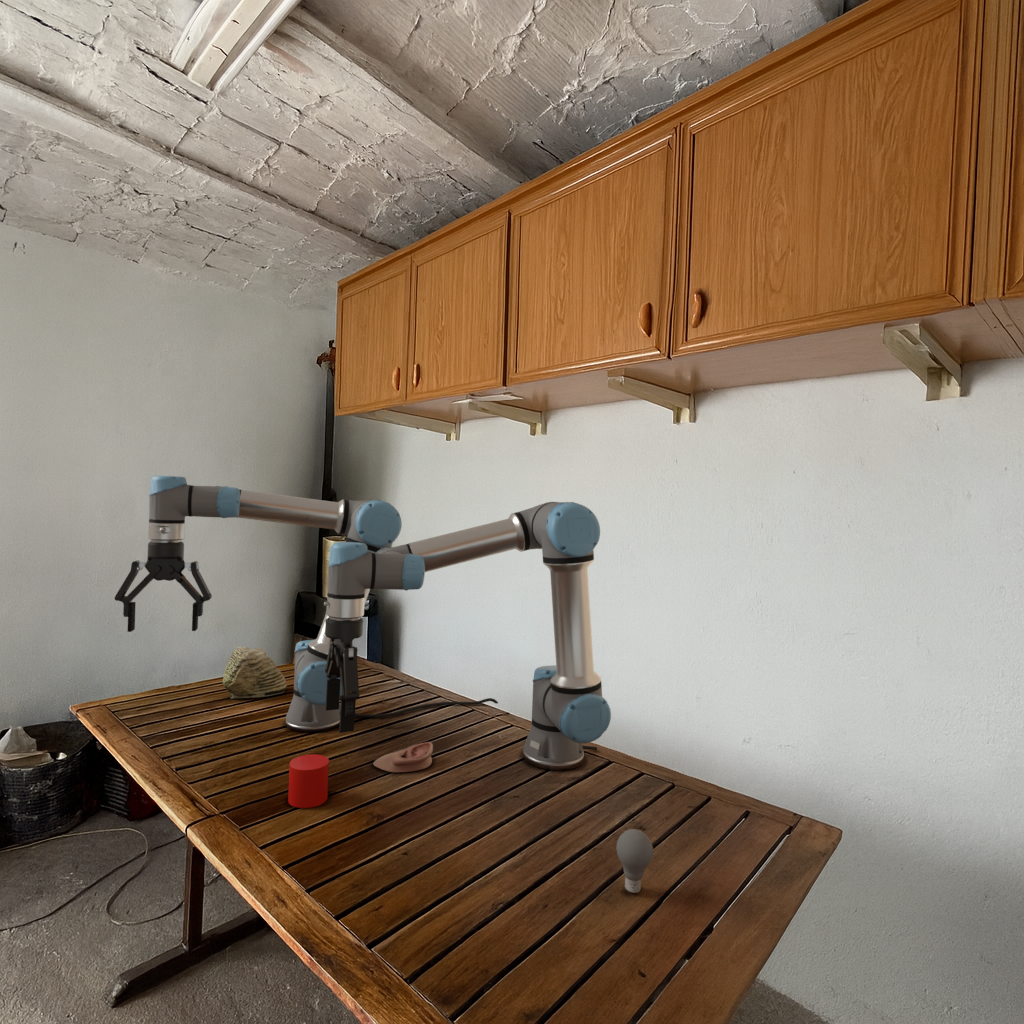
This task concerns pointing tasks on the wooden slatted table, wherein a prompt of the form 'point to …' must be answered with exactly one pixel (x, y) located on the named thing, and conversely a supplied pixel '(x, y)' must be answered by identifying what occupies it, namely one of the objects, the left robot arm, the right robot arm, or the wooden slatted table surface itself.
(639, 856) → the light bulb
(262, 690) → the fossil
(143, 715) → the wooden slatted table surface
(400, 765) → the anatomical model
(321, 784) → the canister
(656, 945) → the wooden slatted table surface
